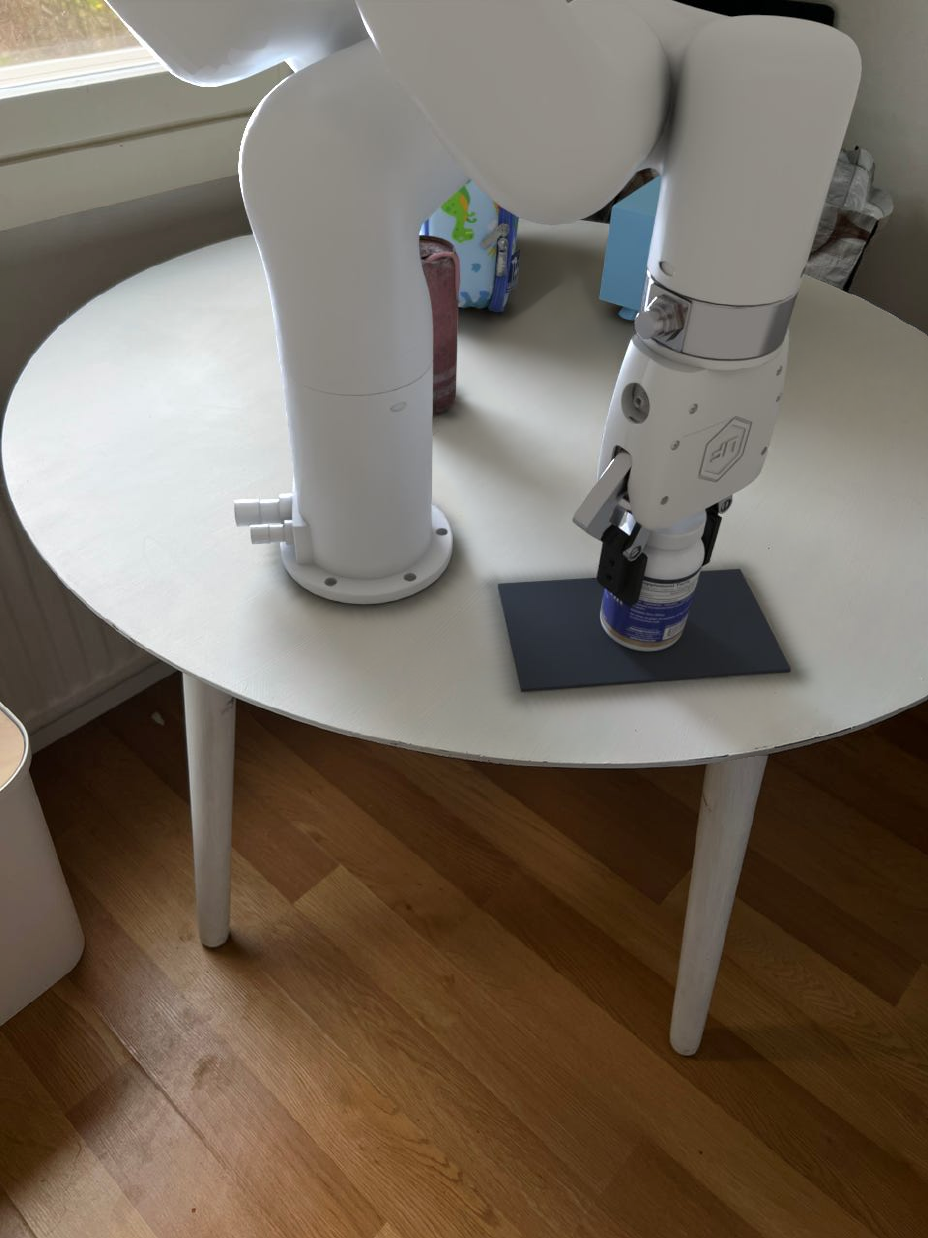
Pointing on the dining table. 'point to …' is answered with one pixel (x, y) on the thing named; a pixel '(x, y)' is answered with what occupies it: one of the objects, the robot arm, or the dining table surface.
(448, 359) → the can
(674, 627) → the pill bottle
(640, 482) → the robot arm
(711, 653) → the mat
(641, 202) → the teapot
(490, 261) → the lunch box
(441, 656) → the dining table surface
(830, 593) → the dining table surface
